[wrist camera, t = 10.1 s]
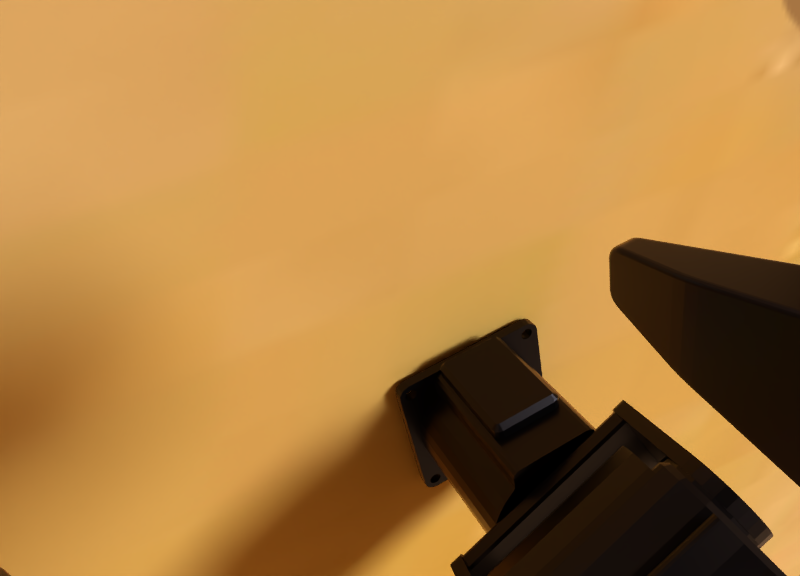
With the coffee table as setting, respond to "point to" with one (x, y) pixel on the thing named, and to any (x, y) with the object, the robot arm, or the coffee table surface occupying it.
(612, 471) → the robot arm
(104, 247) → the coffee table surface
